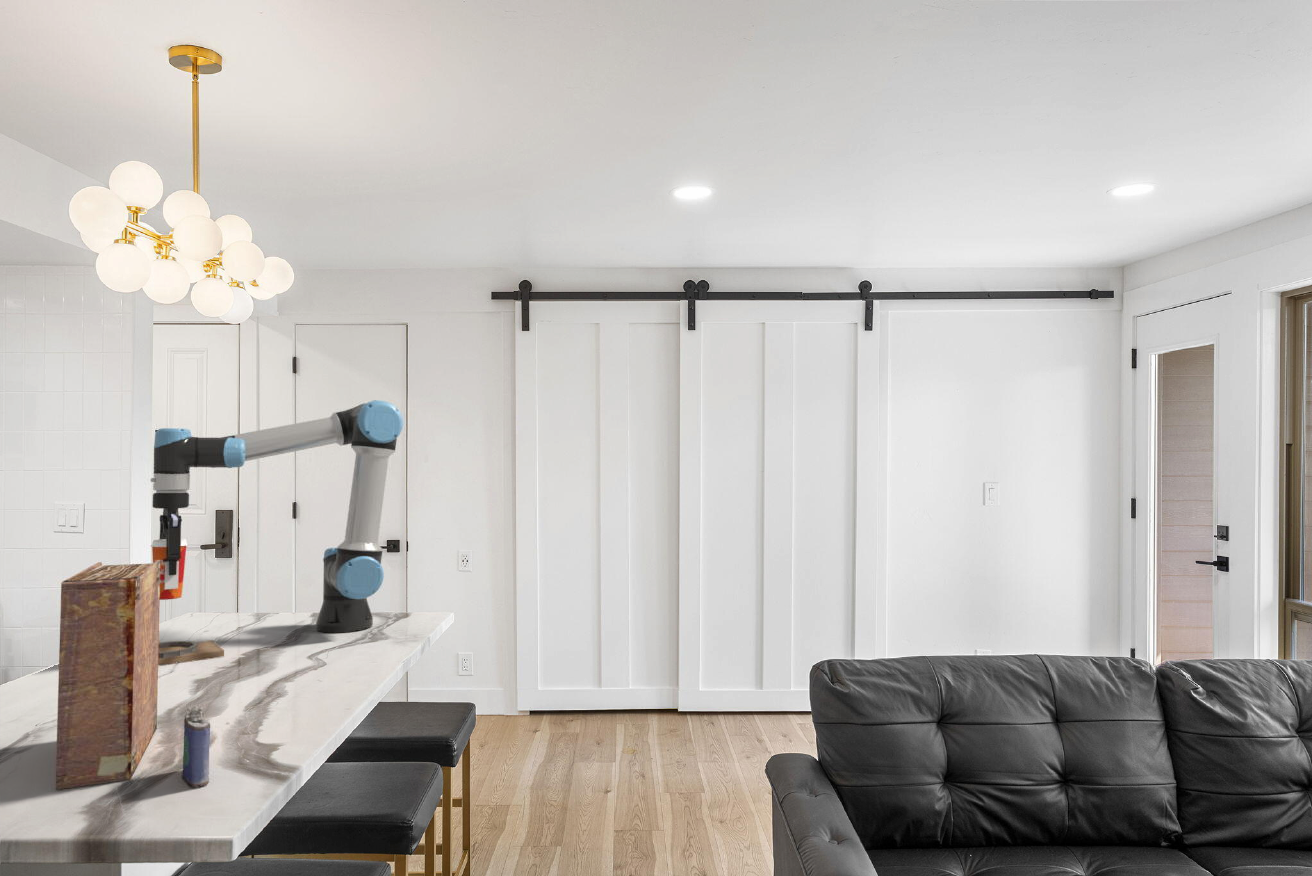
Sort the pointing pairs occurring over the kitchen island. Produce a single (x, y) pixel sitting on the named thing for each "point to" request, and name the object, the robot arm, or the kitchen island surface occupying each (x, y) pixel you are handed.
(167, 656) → the seat board
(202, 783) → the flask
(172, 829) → the kitchen island surface
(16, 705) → the kitchen island surface
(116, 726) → the book
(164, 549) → the paper cup
